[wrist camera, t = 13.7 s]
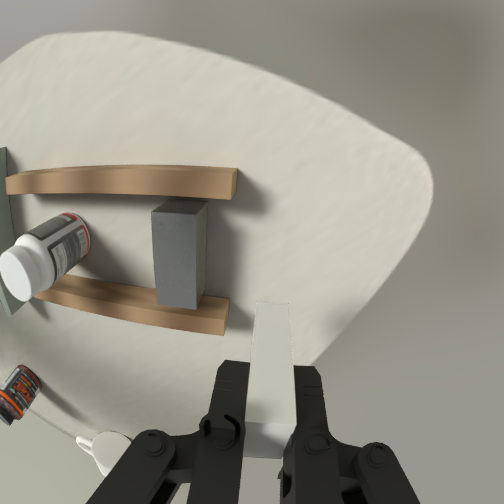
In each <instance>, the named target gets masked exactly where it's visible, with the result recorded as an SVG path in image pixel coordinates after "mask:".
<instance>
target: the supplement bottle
mask: <svg viewBox="0 0 504 504" xmlns="http://www.w3.org/2000/svg"><path fill="white" fill-rule="evenodd" d="M40 389H41V384H40V381H39V380H38V378H37V377H36V376H35V375H34V374H33V373H32V372H31V371H30V370H29V369H28V368H26V367H25V366H22V365H18V366H17V368H16V369H15V370H14V371H13V372H12V374H11V375H10V376H9V378H8V379H7V380H6V382H5V383H4V384H3V385H2V387H1V388H0V419H1V420H2V421H3V422H4V423H6V424H7V425H9V426H10V425H11V423H12V422H13V420H14V419H17V420H20V419H21V418H22V416H23V415H24V414H25V412H26V411H27V409H28V408H29V406H30V405H31V403H32V402H33V400H34V399H35V397H36V396H37V394H38V393H39V391H40Z"/></svg>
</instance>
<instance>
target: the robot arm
mask: <svg viewBox="0 0 504 504" xmlns="http://www.w3.org/2000/svg"><path fill="white" fill-rule="evenodd" d="M199 429H200V430H199V431H197V432H195V433H193V434H189V435H180V436H169V435H168V434H166V433H165V432H163V431H160V430H156V429H155V430H146V431H143V432H141V433H140V434H139V435H137V436H136V437H135V439H134V440H133V441H132V443H131V444H130V445H129V447H128V448H127V449H126V451H125V452H124V453H123V455H122V456H121V458H120V459H119V460H118V462H117V463H116V464H115V466H114V467H113V468H112V470H111V471H110V472H109V474H108V475H107V476H106V478H105V479H104V480H103V482H102V483H101V484H100V486H99V487H98V488H97V489H96V491H95V492H94V493H93V495H92V496H91V497H90V499H89V500H88V502H87V503H86V504H170V503H171V501H172V499H173V497H174V496H175V494H176V492H177V491H178V489H179V487H180V485H181V484H182V483H191V485H190V490H189V494H188V499H187V504H238V498H239V488H240V479H241V469H242V459H243V456H244V457H256V458H272V459H273V458H274V459H281V458H282V456H283V467H282V469H281V471H280V472H279V474H278V479H281V483H280V504H420V502H419V500H418V498H417V496H416V494H415V492H414V490H413V488H412V486H411V485H410V483H409V481H408V479H407V477H406V475H405V473H404V471H403V469H402V468H401V466H400V464H399V462H398V460H397V458H396V456H395V454H394V453H393V451H392V450H391V449H390V447H389V446H387V445H385V444H383V443H379V442H374V443H369V444H367V445H365V446H363V448H361V447H356V446H352V445H347V444H344V443H341V442H339V441H337V440H336V439H335V438H334V437H333V436H332V435H331V433H330V432H329V429H328V424H327V417H326V409H325V402H324V397H323V389H322V382H321V376H320V374H319V373H318V371H317V370H316V369H315V367H314V366H296V365H293V353H292V339H291V326H290V313H289V303H279V302H269V301H259V300H257V302H256V311H255V320H254V329H253V338H252V347H251V357H250V363H249V362H240V361H231V360H225V361H224V362H223V363H222V364H221V365H220V367H219V368H218V371H217V375H216V381H215V384H214V389H213V393H212V398H211V403H210V407H209V412H208V414H207V415H205V416H204V417H203V418H202V420H201V422H200V424H199Z"/></svg>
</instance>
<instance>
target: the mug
mask: <svg viewBox="0 0 504 504" xmlns="http://www.w3.org/2000/svg"><path fill="white" fill-rule="evenodd" d="M76 442H77V444H78V445H79V446H80V447H81V448H82V449H83V450H85V451H86V452H87V453H89V454H90V455H92V456H93V457H94V459H95V461H96V463H97V465H98V467H99V469H100V471H101V473H102V474H103V475H104V476H105V477H106V476H107V475H108V474H109V472H110V471H111V470H112V468H113V467H114V466H115V464H116V463H117V462H118V460H119V459H120V458H121V456H122V455H123V453H124V452H125V451H126V449H127V448H128V447H129V445H130V444H131V443H132V442H131V441H130V440H129V439H128V438H127V437H125V436H124V435H122V434H120V433H117V432H111V431H109V432H103V433H100V434H98V435H97V436H96V437H95V438H94V439H93V440H91V439H89V438H87V437H84V436H78V437H77V438H76ZM85 444H86V445H88V446H90V447H91V448H89V447H88V446H86V445H85Z"/></svg>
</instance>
